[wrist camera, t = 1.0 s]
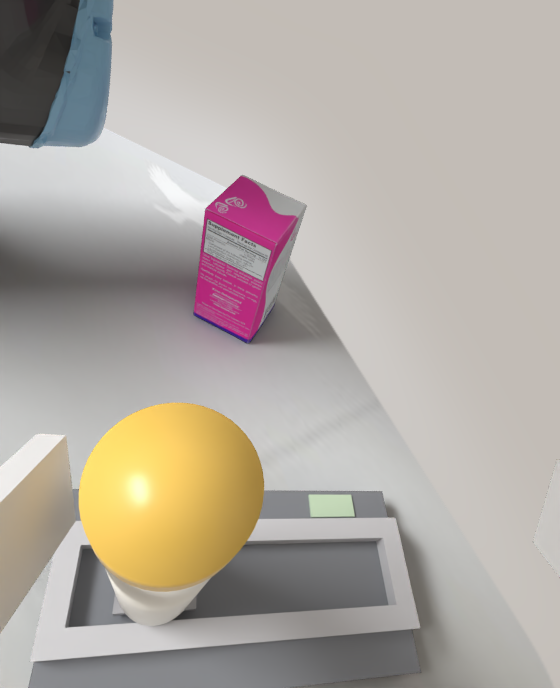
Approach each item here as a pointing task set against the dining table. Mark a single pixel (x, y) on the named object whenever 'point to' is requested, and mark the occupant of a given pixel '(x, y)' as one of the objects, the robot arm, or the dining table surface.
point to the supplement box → (245, 255)
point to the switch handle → (169, 505)
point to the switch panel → (245, 608)
